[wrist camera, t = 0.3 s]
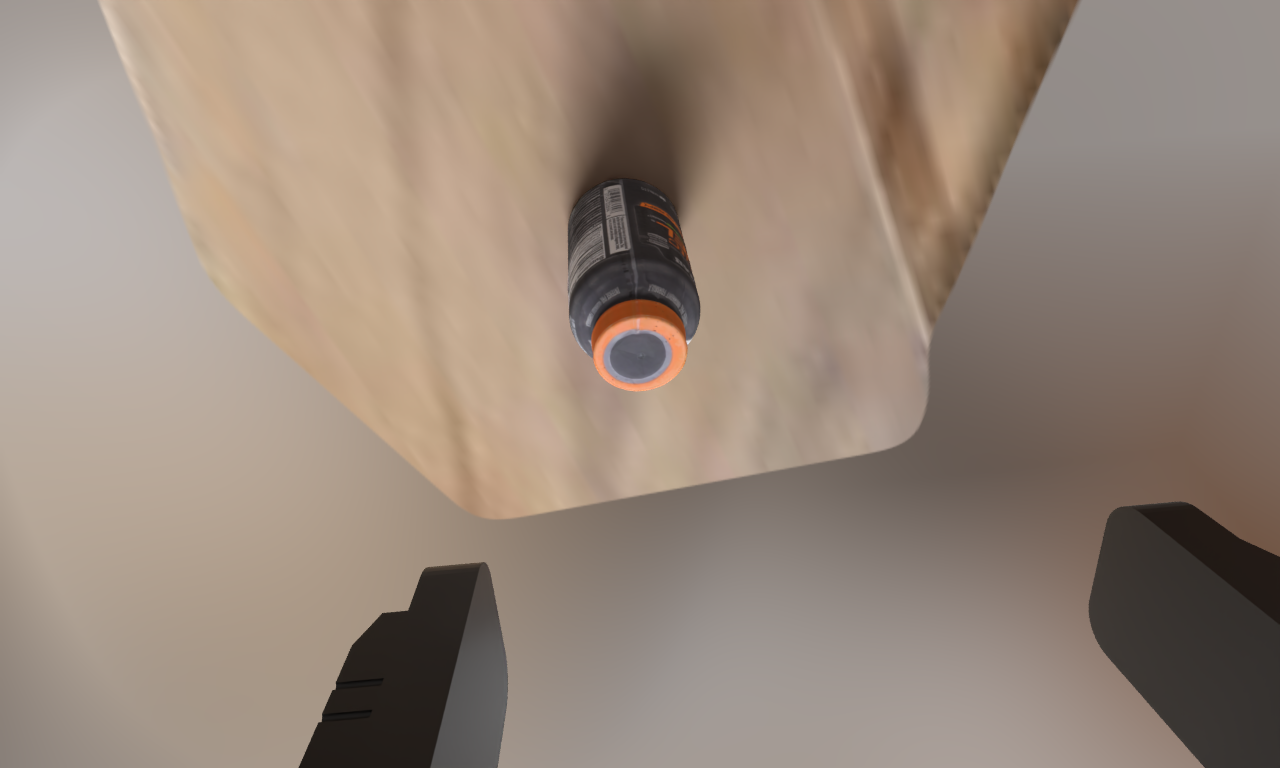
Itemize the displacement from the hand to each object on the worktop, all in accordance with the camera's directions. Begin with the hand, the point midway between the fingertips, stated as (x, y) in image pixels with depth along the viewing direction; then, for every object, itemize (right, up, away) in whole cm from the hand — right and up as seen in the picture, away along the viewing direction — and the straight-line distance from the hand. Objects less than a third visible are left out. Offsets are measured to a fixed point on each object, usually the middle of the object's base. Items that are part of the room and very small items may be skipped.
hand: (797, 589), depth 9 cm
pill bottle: (-3, +11, +29) cm, 31 cm away
